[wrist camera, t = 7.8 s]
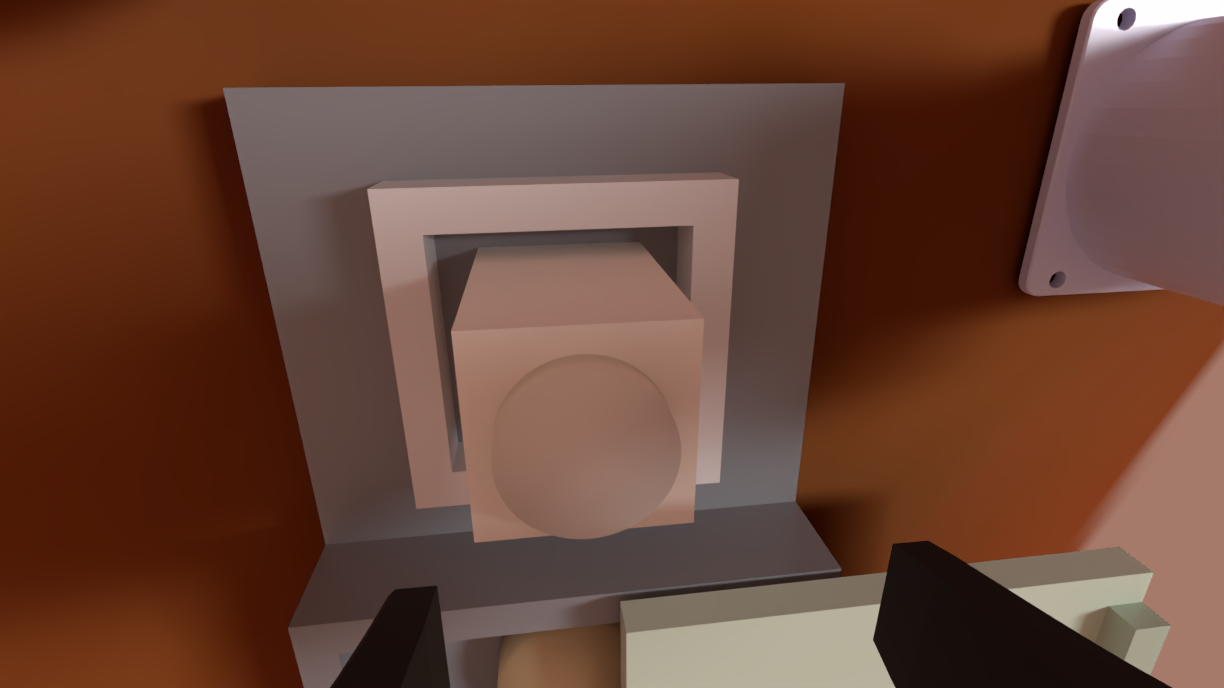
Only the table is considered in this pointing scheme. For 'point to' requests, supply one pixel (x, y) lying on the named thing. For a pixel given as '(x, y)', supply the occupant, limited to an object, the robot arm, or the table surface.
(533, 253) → the cube with dome top
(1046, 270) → the robot arm
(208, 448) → the table surface
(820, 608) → the lid
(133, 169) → the table surface
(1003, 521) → the table surface
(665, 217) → the housing
